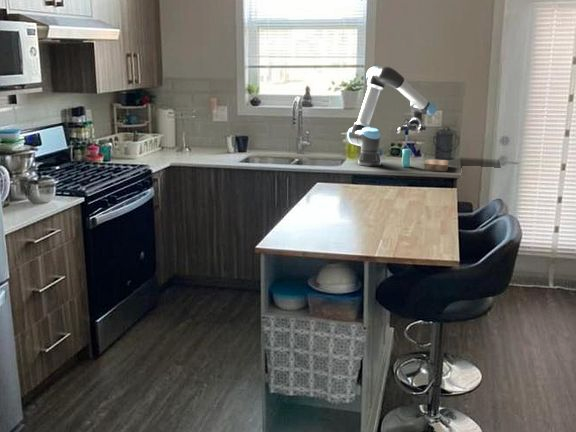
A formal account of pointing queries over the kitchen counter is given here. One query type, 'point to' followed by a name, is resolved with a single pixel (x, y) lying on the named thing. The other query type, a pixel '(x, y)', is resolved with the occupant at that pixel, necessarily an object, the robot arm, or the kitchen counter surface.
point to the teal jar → (406, 158)
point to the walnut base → (436, 165)
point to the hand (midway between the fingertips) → (408, 131)
